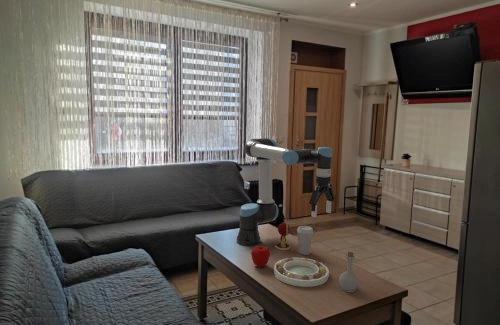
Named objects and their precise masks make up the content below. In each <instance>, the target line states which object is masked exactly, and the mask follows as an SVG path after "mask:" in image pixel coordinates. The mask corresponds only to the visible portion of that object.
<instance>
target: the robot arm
mask: <svg viewBox="0 0 500 325" xmlns="http://www.w3.org/2000/svg"><path fill="white" fill-rule="evenodd" d="M244 152H245V154H246V155H247V156H248V157H250V158H255V160H256V161H257V162H258V199H257V201H256V203H252V202H251V203H245V204H243V205H241V206H240V209H239V230H238V232H237V233H238V234H237V236H236V243H237V244H239V245H242V246H248V247H249V246H258V245H259V244H260V243H261V240H262V239H261V236H260V232H259V225H261V224H264V223H265V224H266V223H270V222H273V221H275V220H276V219H277V218H278V217H279V207H278V205H277V204H276V203H275V202H276V201H275V199H273V161H277V162H282V163H284V164H285V165H290V166H293V165H300V164H301V165H302V164H303V165H304V164H315V165H316V173H315V174H316V177H315V183H316V184H317V185H314V186H313V190H312V193H311V196H310V199H309V202H308V204H309V205H311V217H312V218H317V216H318V215H317V214H318V205H317V204H318V202H319V201H320V198H321V196H322V195H323V194H324V195H325V198H326V207H325V212H326V213H327V214H332V204H333V203H332V202H334V201H335V195H334V190H333V183H331V175H332V161H333V149H332V147H328V146H319V147H318V148H317V149H311V148H303V149H292V148H284V147H280V146H278V144H277V142H276V141H275V140H274V139H273V138H268V137H267V138H266V137H265V138H251V139H249V140H247V141H246V142H245V145H244Z"/></svg>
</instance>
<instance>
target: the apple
mask: <svg viewBox="0 0 500 325" xmlns="http://www.w3.org/2000/svg"><path fill="white" fill-rule="evenodd" d="M250 254H251V260H252V262H253V264H254V265H255V266H256V267H258V268H263V267H265V266H267V264H268V262H269V260H270V257H271V252H270V250H269V249H268V247H267V246H263V245H255V246H254V248H252V249H251V252H250Z"/></svg>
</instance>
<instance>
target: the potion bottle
mask: <svg viewBox="0 0 500 325" xmlns="http://www.w3.org/2000/svg"><path fill="white" fill-rule="evenodd" d="M345 258H346V259H347V260H346V261H347V264H346V265H347V266H346V271H344V272H341V274H340V276H339V278H338V282H339V287H340V289H341V291H344V292H346V293H355V292H356V290H357V288H358V286H359V278H358V276H357V274H355V273H354V272H353V261H354V260H355V255H354V252H352V251H347V254H346V255H345Z"/></svg>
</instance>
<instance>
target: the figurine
mask: <svg viewBox="0 0 500 325" xmlns="http://www.w3.org/2000/svg"><path fill="white" fill-rule="evenodd" d="M277 231H278V234H279V235H280V239H279V240H280V242H279V243H277V244H275V246H274V247H275V249H277V250H281V251H283V250H284V251H285V250H289V249H291V248H292V247H291V245H289V244H288V243H286V241H287V239H286V238H287V237H286V236H288V235H289V234H290V225H289V224H288V223H286V222H281V223H280V224H279V225H278V226H277Z"/></svg>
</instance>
